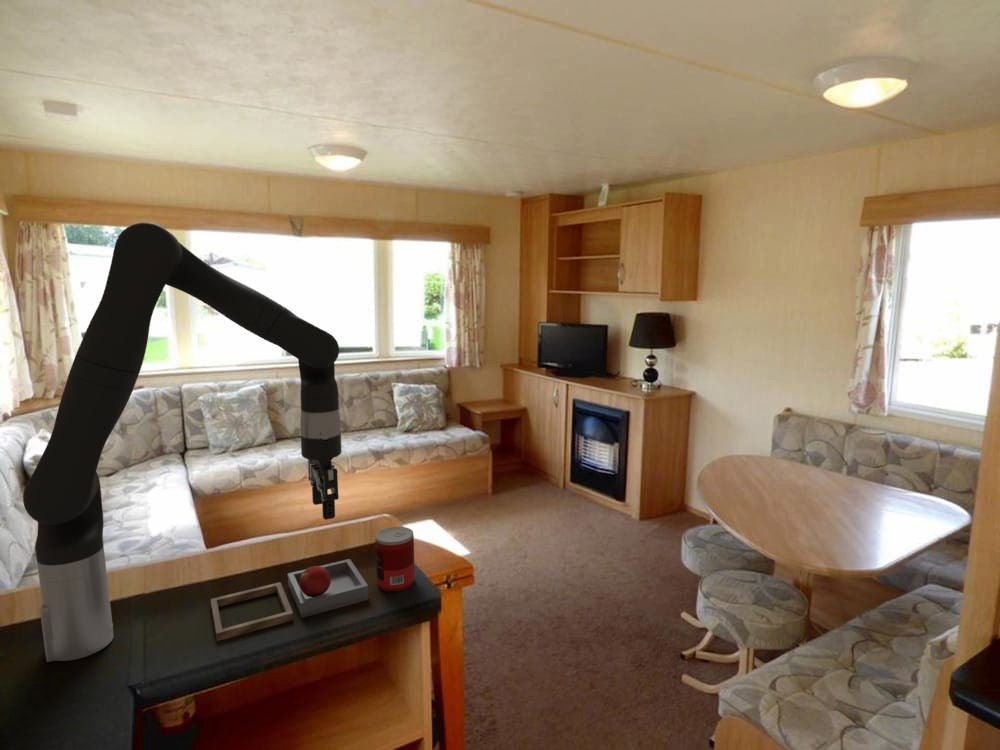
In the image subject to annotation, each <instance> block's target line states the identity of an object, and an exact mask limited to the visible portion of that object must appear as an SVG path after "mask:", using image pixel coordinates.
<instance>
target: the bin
mask: <svg viewBox="0 0 1000 750" xmlns="http://www.w3.org/2000/svg"><path fill="white" fill-rule="evenodd" d="M318 566H319V567H323V568H325V569H326V570H327V571H328V572H329V574H330V577H331V583H330V586H329V588H328V590H327V591H326V592H325V593H324V594H322V595H320V596H316V597H309V596H306V595H305V594H304V593H303V592H302V591H301V588H300V585H299V581H300V577H301V574H302V573H303V572H304V571H305V570H306V569H307V568H306V569H301V570H296V571H293V572H289V573H287V581H288V582H287V584H288V589H289V592H290V594H291V596H292V598H293V601H294V604H295V605H296V608H297V610H298V613H299V615H300V617H301V618H306V617H311V616H314V615H317V614H322V613H324V612H328V611H333V610H335V609H340V608H343V607H346V606H350V605H353V604H357V603H361V602H364V601H369V600H368V599H370V598H369V585H368V583H367V582H366V580H365V578H363V576H362V574H361V572H360V571H359V569H357V567H356V566H355V564H354V563H353V562H352V560H351V558H348V559H344V560H339V561H336V562H331V563H327V564H324V565H318Z"/></svg>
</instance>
